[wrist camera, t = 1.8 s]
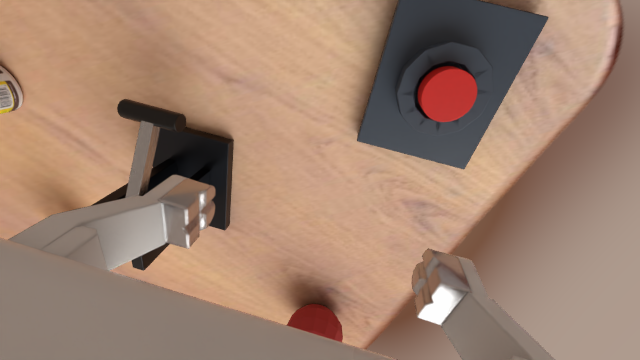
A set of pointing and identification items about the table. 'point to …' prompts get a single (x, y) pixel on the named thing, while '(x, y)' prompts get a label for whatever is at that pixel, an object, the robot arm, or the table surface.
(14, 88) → the supplement bottle
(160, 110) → the lever
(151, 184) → the bracket
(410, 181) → the table surface
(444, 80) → the button
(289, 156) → the table surface
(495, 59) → the block
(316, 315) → the tomato
